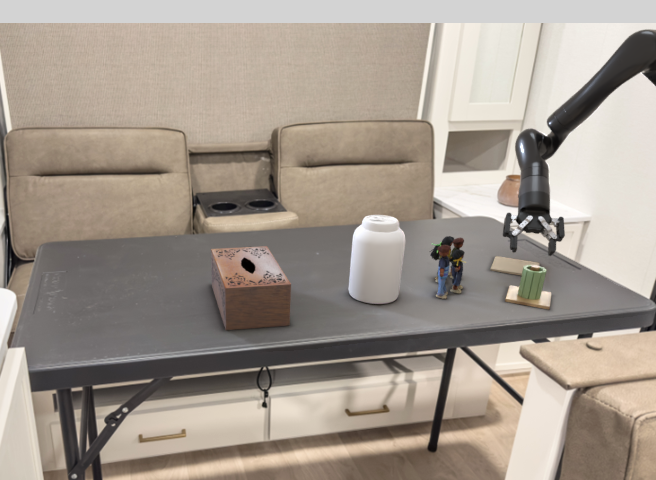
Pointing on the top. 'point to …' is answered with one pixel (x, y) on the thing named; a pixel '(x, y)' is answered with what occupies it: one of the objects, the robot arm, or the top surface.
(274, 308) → the tissue box cover
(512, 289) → the stacking stand
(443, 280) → the doll family
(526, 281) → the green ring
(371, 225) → the can
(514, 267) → the oatmeal mat
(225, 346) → the top surface
